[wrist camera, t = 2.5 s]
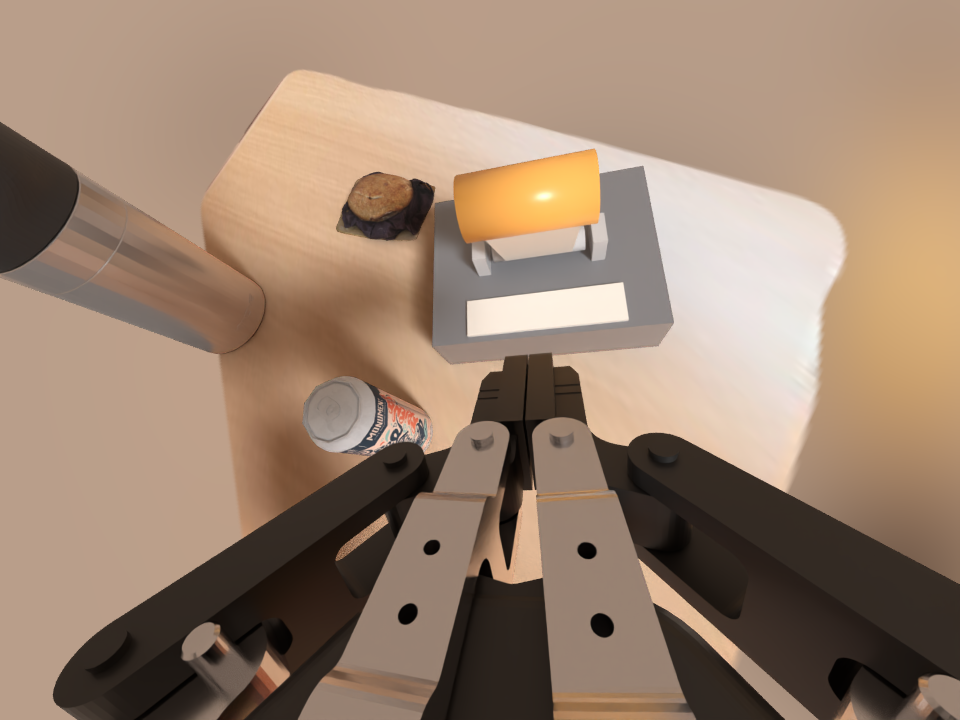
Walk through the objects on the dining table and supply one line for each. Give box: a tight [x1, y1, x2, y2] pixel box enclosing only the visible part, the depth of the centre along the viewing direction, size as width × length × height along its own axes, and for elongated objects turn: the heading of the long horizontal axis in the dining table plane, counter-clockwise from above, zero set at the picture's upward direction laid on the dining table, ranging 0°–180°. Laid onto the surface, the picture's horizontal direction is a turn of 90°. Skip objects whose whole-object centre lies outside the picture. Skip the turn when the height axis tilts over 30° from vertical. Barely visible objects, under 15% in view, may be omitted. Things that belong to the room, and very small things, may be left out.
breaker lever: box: [454, 149, 600, 263], centre depth 23 cm, size 3×7×15 cm, turn 92°
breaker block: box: [432, 166, 674, 364], centre depth 32 cm, size 14×18×8 cm
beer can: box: [302, 376, 433, 456], centre depth 28 cm, size 5×5×12 cm
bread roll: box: [336, 172, 435, 241], centre depth 41 cm, size 11×8×4 cm
